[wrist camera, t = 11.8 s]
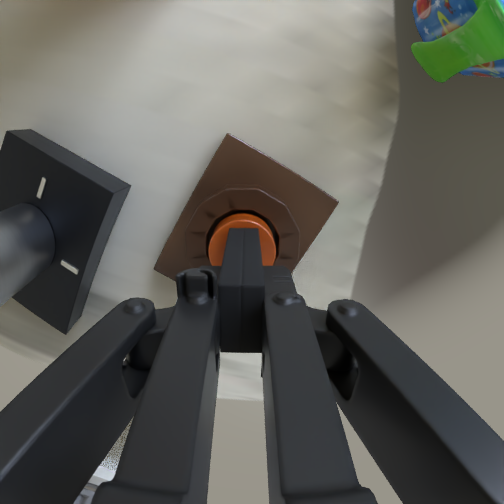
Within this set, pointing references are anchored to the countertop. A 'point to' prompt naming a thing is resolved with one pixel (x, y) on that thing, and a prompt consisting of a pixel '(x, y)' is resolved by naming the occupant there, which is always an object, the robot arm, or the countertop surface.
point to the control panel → (60, 219)
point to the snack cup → (460, 37)
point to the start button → (241, 221)
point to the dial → (23, 247)
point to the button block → (246, 207)
